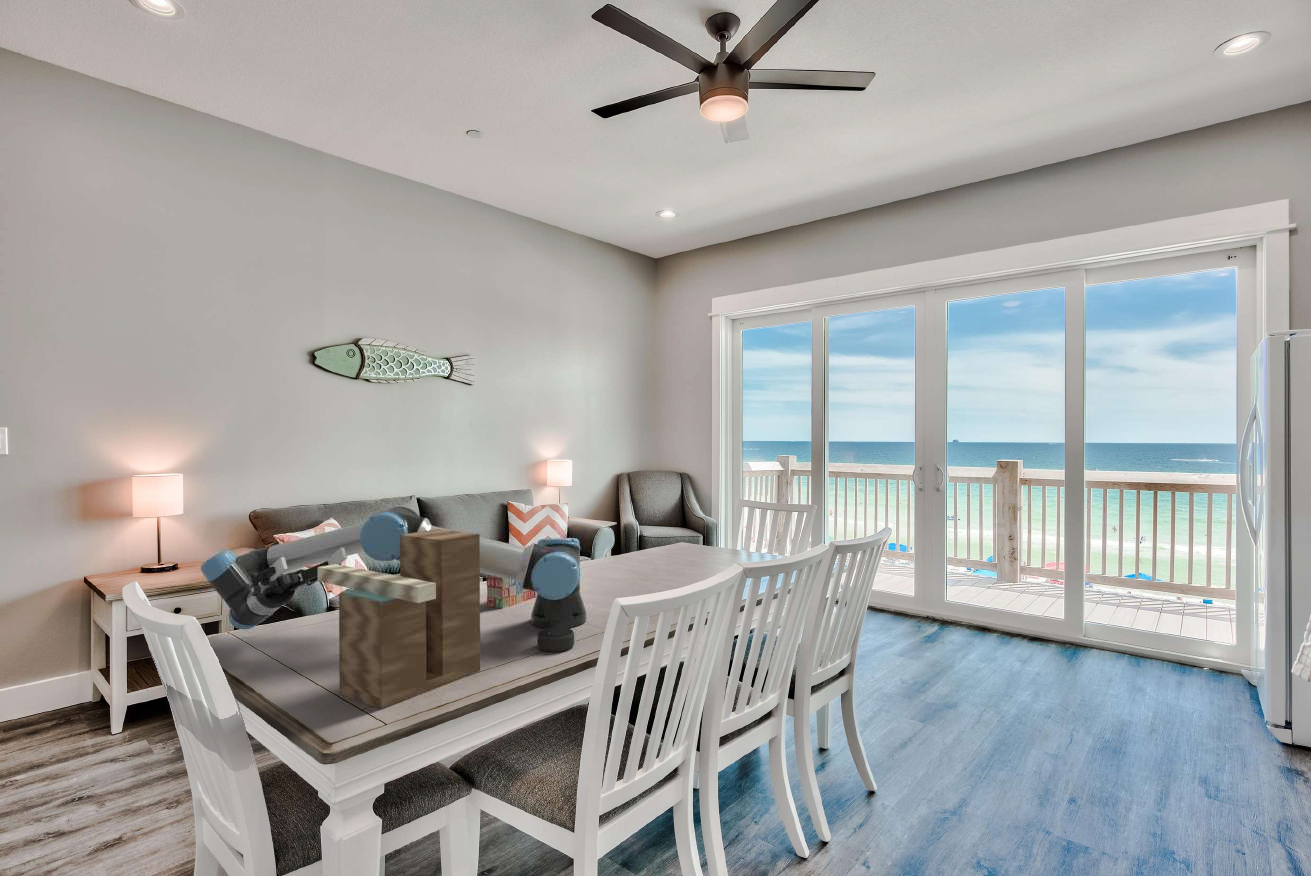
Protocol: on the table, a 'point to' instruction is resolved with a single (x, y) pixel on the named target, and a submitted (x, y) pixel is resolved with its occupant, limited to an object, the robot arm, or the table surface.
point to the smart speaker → (555, 639)
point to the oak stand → (414, 624)
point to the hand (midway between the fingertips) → (315, 557)
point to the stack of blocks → (506, 592)
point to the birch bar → (378, 583)
